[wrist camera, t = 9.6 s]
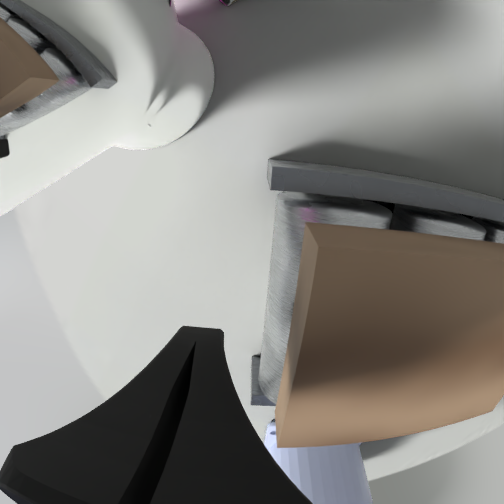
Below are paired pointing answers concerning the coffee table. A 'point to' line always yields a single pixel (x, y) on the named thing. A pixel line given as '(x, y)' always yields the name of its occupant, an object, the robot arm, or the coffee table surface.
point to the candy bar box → (228, 2)
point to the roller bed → (351, 214)
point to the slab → (390, 335)
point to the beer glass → (92, 85)
